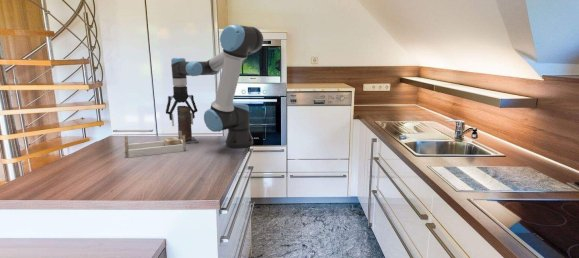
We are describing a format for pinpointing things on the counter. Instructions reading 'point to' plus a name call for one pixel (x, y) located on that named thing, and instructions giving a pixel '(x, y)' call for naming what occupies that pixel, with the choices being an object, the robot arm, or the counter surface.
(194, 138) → the mat
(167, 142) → the offcut upper
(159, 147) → the rack
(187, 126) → the rusty brown cylinder
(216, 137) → the counter surface
